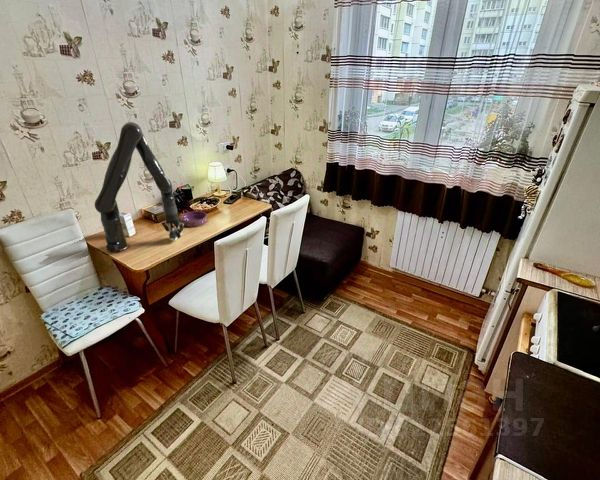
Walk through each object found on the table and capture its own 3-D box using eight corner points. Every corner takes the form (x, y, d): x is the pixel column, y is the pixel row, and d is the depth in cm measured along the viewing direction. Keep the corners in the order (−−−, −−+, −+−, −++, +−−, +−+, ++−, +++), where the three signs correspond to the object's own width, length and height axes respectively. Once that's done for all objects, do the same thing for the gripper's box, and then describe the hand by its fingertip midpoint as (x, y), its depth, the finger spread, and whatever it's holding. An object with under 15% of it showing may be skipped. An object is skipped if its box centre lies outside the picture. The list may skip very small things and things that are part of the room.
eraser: (175, 240, 187) (174, 234, 185) (170, 240, 187) (168, 234, 185) (181, 234, 194) (180, 229, 192) (176, 234, 194) (175, 228, 192)
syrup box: (136, 233, 198) (130, 212, 191) (129, 237, 193) (123, 216, 186) (129, 231, 199) (123, 211, 193) (122, 235, 194) (115, 215, 188)
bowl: (201, 228, 206) (200, 222, 204) (177, 226, 208) (176, 220, 206) (211, 217, 221) (210, 212, 219) (188, 216, 223) (187, 210, 221)
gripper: (156, 213, 179) (162, 239, 188) (178, 215, 178) (183, 241, 186) (162, 208, 186) (168, 233, 194) (184, 210, 185) (189, 235, 193)
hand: (175, 237), depth 190 cm, fingers closed on eraser, 3 cm apart
